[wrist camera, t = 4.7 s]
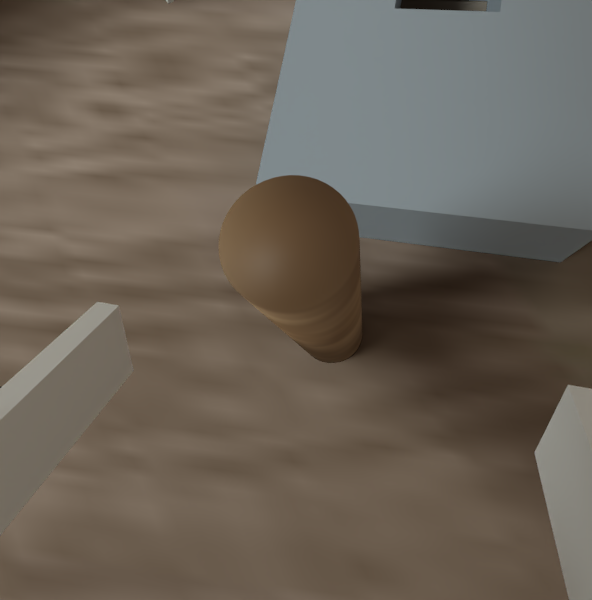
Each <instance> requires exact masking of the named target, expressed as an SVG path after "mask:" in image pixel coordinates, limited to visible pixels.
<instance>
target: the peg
mask: <svg viewBox="0 0 592 600" xmlns="http://www.w3.org/2000/svg"><path fill="white" fill-rule="evenodd" d="M219 258H220V262H221V266H222V268H223V271H224V273H225V275H226V277H227V279H228V281H229V282H230V283H231V285H232V286H233V287H234V289H235V290H236V291H237V292H238V293H240V294H241V295H242V296H243V297H244V298H245V299H246V300H247V301H249V302H250V303H251V304H252V305H253V306H254V307H256V308H257V309H258V310H259V311H260V312H261V313H263V314H264V315H265V316H266V317H267V318H268V319H270V320H271V321H272V322H273V323H274V324H275V325H277V326H278V327H279V328H280V329H281V330H282V331H284V332H285V333H286V334H287V335H288V336H289V337H291V338H292V339H293V340H294V341H295V342H296V343H297V344H299V345H300V346H301V347H302V348H303V349H304V350H306V351H307V352H308V353H309V354H310V355H311V356H313V357H314V358H316V359H318V360H320V361H322V362H327V363H336V362H341V361H343V360H346V359H347V358H349V357H350V356H352V355H353V354H354V353H355V352H356V350H357V349H358V347H359V345H360V343H361V339H362V305H361V275H360V245H359V229H358V224H357V220H356V217H355V214H354V212H353V210H352V209H351V207H350V205H349V204H348V202H347V201H346V199H345V198H344V197H343V196H342V195H341V194H340V193H339V192H338V191H337V190H335V189H334V188H333V187H331V186H330V185H328V184H326V183H324V182H322V181H320V180H318V179H314V178H311V177H307V176H301V175H286V176H279V177H274V178H271V179H268V180H265V181H263V182H261V183H259V184H257V185H255V186H253V187H252V188H250V189H249V190H248V191H246V192H245V193H244V194H243V195H242V196H241V197H240V198H239V199H238V200H237V201H236V202H235V203H234V204H233V206H232V207H231V208H230V210H229V212H228V213H227V215H226V217H225V219H224V222H223V224H222V228H221V231H220V236H219Z"/></svg>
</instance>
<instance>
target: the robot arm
mask: <svg viewBox="0 0 592 600" xmlns="http://www.w3.org/2000/svg"><path fill="white" fill-rule="evenodd" d="M133 371H134V370H133V366H132V361H131V357H130V353H129V348H128V344H127V339H126V335H125V330H124V326H123V321H122V317H121V313H120V308H119V306H118V305H113V304H107V303H101V302H97V303H96V304H94V305H93V306H92V307H91V308H90V309H89V310H88V311H87V312H85V313H84V314H83V315H82V316H81V317H80V318H79V319H78V320H76V321H75V322H74V323H73V324H72V325H71V326H70V327H69V328H67V329H66V330H65V331H64V332H63V333H62V334H61V335H60V336H58V337H57V338H56V339H55V340H54V341H53V342H52V343H51V344H50V345H48V346H47V347H46V348H45V349H44V350H43V351H42V352H41V353H39V354H38V355H37V356H36V357H35V358H34V359H33V360H32V361H30V362H29V363H28V364H27V365H26V366H25V367H24V368H23V369H21V370H20V371H19V372H18V373H17V374H16V375H15V376H14V377H13V378H11V379H10V380H9V381H8V382H7V383H6V384H5V385H4V386H2V387H0V535H1V534H2V533H3V531H4V530H5V529H6V528H7V527H8V525H9V524H10V523H11V522H12V520H13V519H14V518H15V517H16V515H17V514H18V513H19V512H20V510H21V509H22V508H23V507H24V506H25V504H26V503H27V502H28V501H29V499H30V498H31V497H32V496H33V494H34V493H35V492H36V491H37V489H38V488H39V487H40V486H41V485H42V483H43V482H44V481H45V480H46V478H47V477H48V476H49V475H50V473H51V472H52V471H53V470H54V469H55V467H56V466H57V465H58V464H59V462H60V461H61V460H62V459H63V457H64V456H65V455H66V454H67V452H68V451H69V450H70V449H71V448H72V446H73V445H74V444H75V443H76V441H77V440H78V439H79V438H80V436H81V435H82V434H83V433H84V431H85V430H86V429H87V428H88V427H89V425H90V424H91V423H92V422H93V420H94V419H95V418H96V417H97V415H98V414H99V413H100V412H101V411H102V409H103V408H104V407H105V406H106V404H107V403H108V402H109V401H110V399H111V398H112V397H113V396H114V394H115V393H116V392H117V391H118V390H119V388H120V387H121V386H122V385H123V383H124V382H125V381H126V380H127V378H128V377H129V376H130V375H131V373H132V372H133ZM534 453H535V458H536V462H537V466H538V470H539V475H540V479H541V483H542V487H543V492H544V496H545V500H546V504H547V509H548V513H549V517H550V521H551V526H552V530H553V534H554V538H555V543H556V547H557V551H558V555H559V560H560V564H561V568H562V572H563V577H564V581H565V585H566V589H567V594H568V598H569V600H592V389H590V388H584V387H578V386H572V385H568V386H567V388H566V390H565V392H564V394H563V396H562V398H561V400H560V402H559V404H558V406H557V408H556V410H555V412H554V414H553V416H552V418H551V420H550V422H549V424H548V426H547V428H546V430H545V432H544V434H543V436H542V438H541V440H540V442H539V444H538V446H537V448H536V450H535V452H534Z"/></svg>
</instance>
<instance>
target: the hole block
mask: <svg viewBox="0 0 592 600" xmlns="http://www.w3.org/2000/svg"><path fill="white" fill-rule="evenodd" d="M401 1H402V0H296V3H295V8H294V12H293V17H292V22H291V26H290V31H289V35H288V40H287V44H286V49H285V54H284V58H283V63H282V67H281V72H280V77H279V81H278V86H277V90H276V95H275V99H274V104H273V109H272V113H271V118H270V122H269V127H268V131H267V136H266V141H265V145H264V150H263V154H262V159H261V163H260V168H259V173H258V177H257V182H256V185H257V184H259V183H261V182H263V181H265V180H268V179H271V178H274V177H279V176H286V175H301V176H307V177H311V178H314V179H318V180H320V181H322V182H324V183H326V184H328V185H330V186H331V187H333V188H334V189H335V190H337V191H338V192H339V193H340V194H341V195H342V196H343V197H344V198H345V199H346V201H347V202H348V204H349V205H350V207H351V209H352V210H353V212H354V214H355V217H356V220H357V224H358V229H359V237H363V238H371V239H379V240H387V241H395V242H403V243H411V244H419V245H427V246H435V247H443V248H451V249H458V250H466V251H474V252H482V253H490V254H498V255H506V256H514V257H522V258H530V259H538V260H546V261H554V262H562V261H563V260H564V259H566V258H567V257H569V256H570V255H572V254H573V253H574V252H576V251H577V250H579V249H580V248H582V247H583V246H584V245H586V244H587V243H589V242H590V241H592V0H471V1H488V2H487V10H486V11H456V10H426V9H400V7H401Z"/></svg>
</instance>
